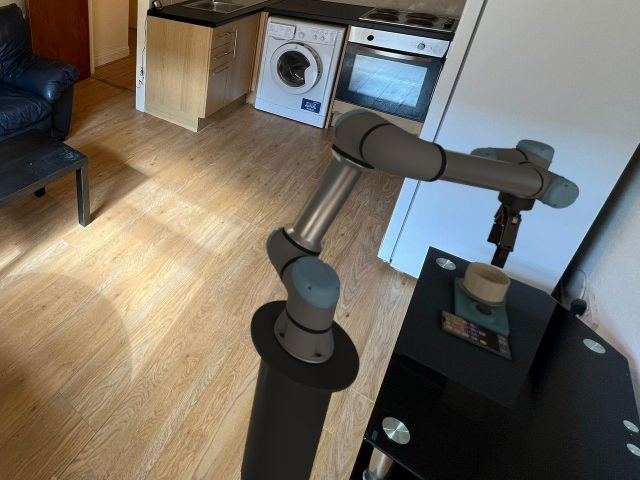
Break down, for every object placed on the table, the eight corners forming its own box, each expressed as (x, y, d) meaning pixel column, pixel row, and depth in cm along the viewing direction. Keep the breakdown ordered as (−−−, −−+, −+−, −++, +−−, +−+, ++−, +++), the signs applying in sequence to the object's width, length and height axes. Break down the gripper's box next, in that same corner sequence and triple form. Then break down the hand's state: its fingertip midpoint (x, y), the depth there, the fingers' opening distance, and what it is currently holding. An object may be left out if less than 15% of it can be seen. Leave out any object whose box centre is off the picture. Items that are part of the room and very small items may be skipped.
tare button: (490, 316, 118) (491, 312, 117) (476, 311, 119) (478, 307, 119) (489, 310, 120) (490, 306, 120) (476, 305, 122) (477, 301, 121)
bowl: (462, 292, 125) (469, 274, 123) (462, 275, 133) (468, 257, 131) (504, 309, 120) (512, 290, 118) (501, 289, 127) (508, 271, 125)
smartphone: (510, 360, 108) (512, 356, 108) (441, 330, 116) (442, 327, 116) (506, 339, 114) (507, 336, 114) (441, 312, 123) (442, 309, 122)
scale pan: (458, 294, 125) (459, 293, 125) (458, 273, 134) (458, 272, 134) (508, 313, 119) (508, 312, 119) (504, 290, 128) (504, 289, 127)
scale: (507, 337, 115) (511, 327, 114) (454, 315, 122) (458, 306, 121) (501, 298, 129) (504, 290, 128) (454, 281, 136) (457, 272, 134)
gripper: (544, 217, 103) (516, 283, 110) (529, 180, 122) (506, 239, 129) (506, 206, 108) (481, 270, 114) (497, 172, 127) (476, 229, 133)
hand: (494, 254), depth 122 cm, fingers open, 13 cm apart
